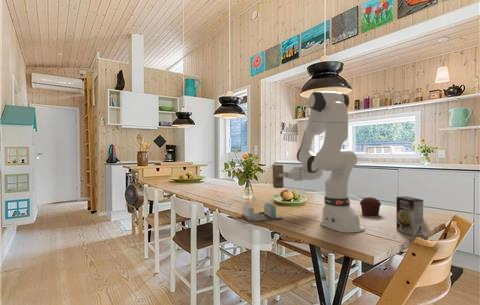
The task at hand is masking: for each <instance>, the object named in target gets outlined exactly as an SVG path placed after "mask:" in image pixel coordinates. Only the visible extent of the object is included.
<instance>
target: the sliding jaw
mask: <svg viewBox="0 0 480 305" xmlns="http://www.w3.org/2000/svg"><path fill="white" fill-rule="evenodd" d="M276 208H277V207H276V206H275V205H274V204H272V203H271V202H264V204H263V210H264V211H263V212H264V213H265V215H267V216H268V218H277V209H276Z"/></svg>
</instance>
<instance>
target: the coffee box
mask: <svg viewBox="0 0 480 305" xmlns="http://www.w3.org/2000/svg"><path fill="white" fill-rule="evenodd" d="M396 231H397V232H402V233H404V234H406V235H410V236H413V237H415V236H421V235H424V199H421V198H417V197H416V198H415V197H412V196H411V197H410V196H405V195H404V196H397V197H396Z"/></svg>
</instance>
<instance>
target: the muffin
mask: <svg viewBox="0 0 480 305" xmlns="http://www.w3.org/2000/svg"><path fill="white" fill-rule="evenodd" d="M359 205H360V207H361V214H362V216H366V217H379V213H380V210H381V209H380V208H381V206H382V203H381V202H380V200H378V199H377V198H375V197H371V196H370V197H365V198H362V199H361V200H360V202H359Z"/></svg>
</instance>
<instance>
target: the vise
mask: <svg viewBox="0 0 480 305" xmlns="http://www.w3.org/2000/svg"><path fill="white" fill-rule="evenodd" d="M242 206H243V207H242V208H243V213H242V214H241V216H242V217H243V218H244V219H245V220H246V221H247V222H248V223H253V222H255V223H256V222H265V221H277V220H278V221H279V220H283V217H282V216H280V217H277V216H276V218H271V217H268V218H266V216H264V214H265V213H264V211H259V212H256V213H255V208H254V207H253V206H252V205H250V204H249V203H244V204H242ZM265 215H266V214H265Z"/></svg>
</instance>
